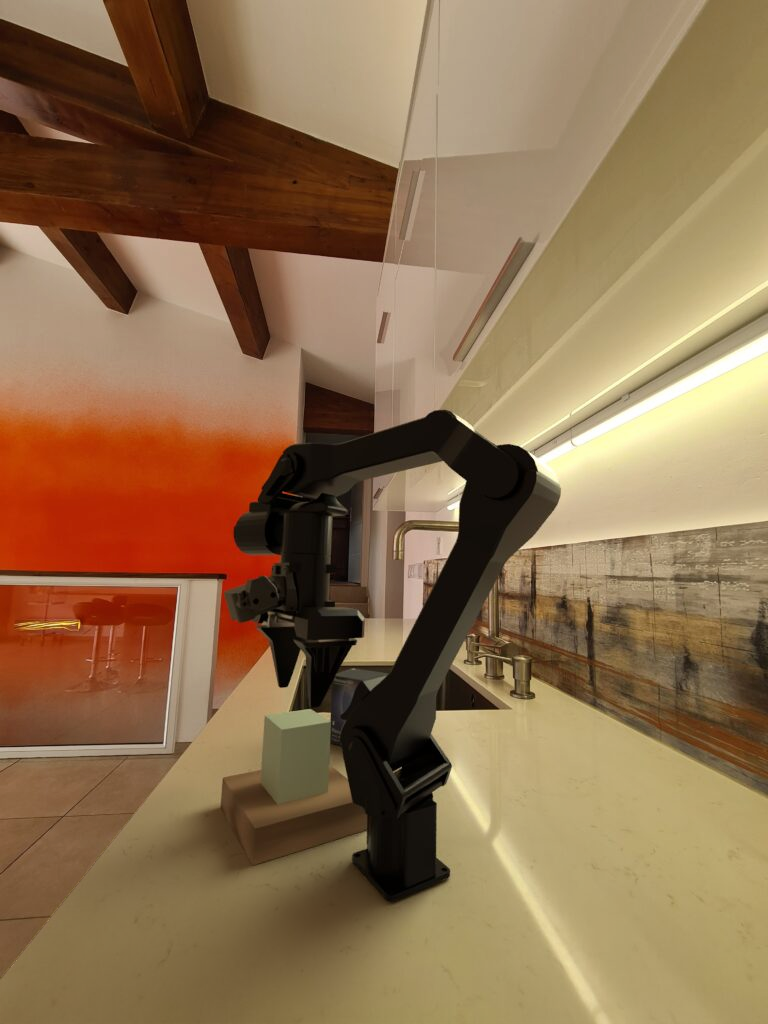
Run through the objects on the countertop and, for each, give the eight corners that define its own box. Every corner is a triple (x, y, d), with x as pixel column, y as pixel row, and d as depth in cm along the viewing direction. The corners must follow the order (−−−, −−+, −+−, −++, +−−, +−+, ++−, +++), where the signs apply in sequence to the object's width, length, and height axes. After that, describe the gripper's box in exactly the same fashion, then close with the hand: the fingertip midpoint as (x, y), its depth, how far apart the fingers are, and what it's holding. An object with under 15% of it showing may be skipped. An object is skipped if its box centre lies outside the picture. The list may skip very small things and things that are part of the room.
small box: (326, 744, 70) (329, 673, 71) (348, 732, 75) (351, 667, 77) (387, 758, 65) (389, 682, 66) (406, 744, 71) (407, 674, 72)
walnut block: (369, 829, 46) (370, 797, 47) (252, 865, 40) (254, 828, 40) (320, 783, 56) (321, 757, 57) (220, 806, 50) (222, 777, 50)
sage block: (328, 792, 48) (330, 721, 49) (277, 804, 45) (281, 729, 46) (307, 772, 52) (310, 708, 53) (260, 782, 49) (264, 715, 50)
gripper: (215, 553, 56) (203, 685, 54) (262, 547, 40) (249, 733, 38) (299, 558, 62) (292, 677, 59) (369, 554, 46) (364, 715, 44)
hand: (297, 696), depth 50 cm, fingers open, 9 cm apart
